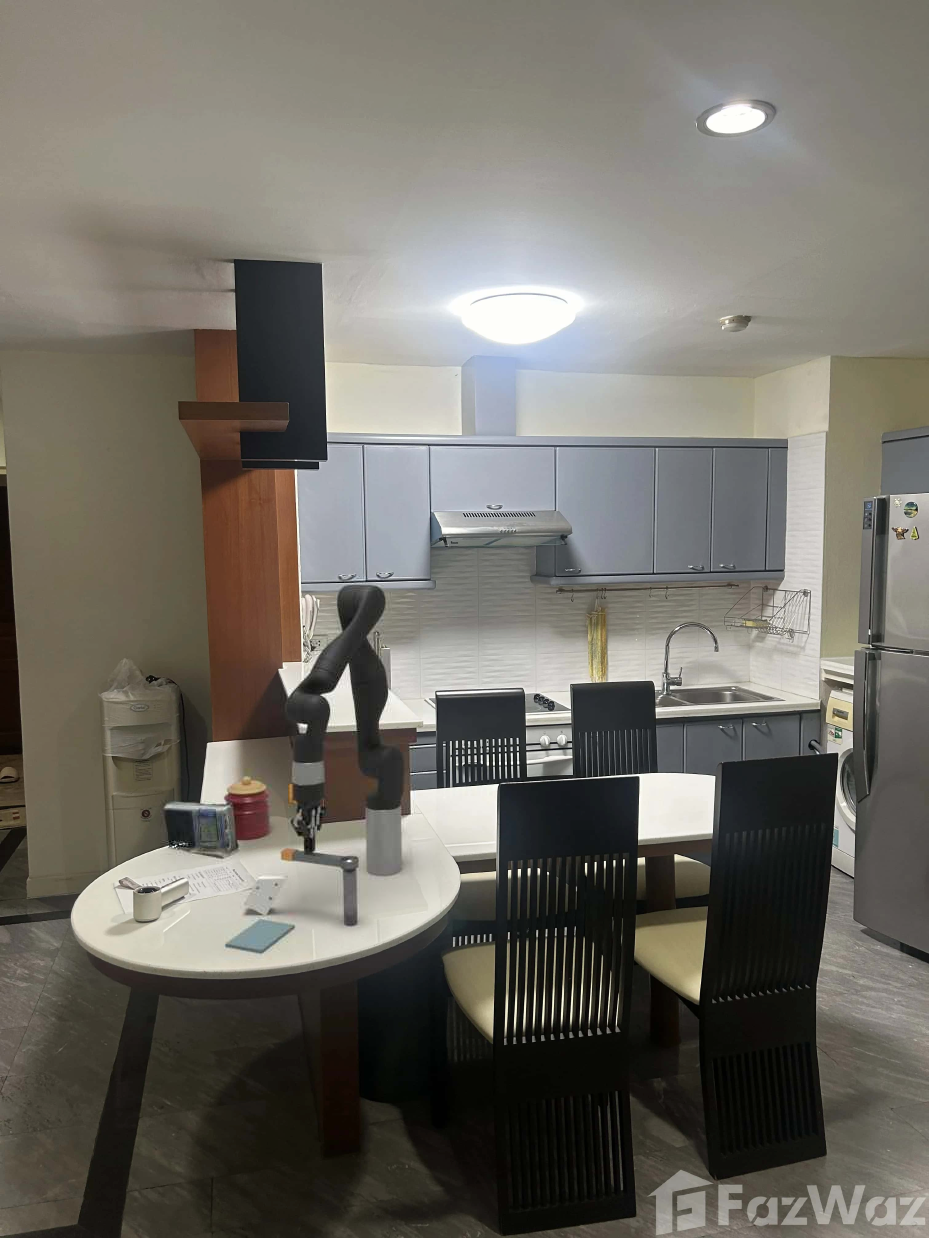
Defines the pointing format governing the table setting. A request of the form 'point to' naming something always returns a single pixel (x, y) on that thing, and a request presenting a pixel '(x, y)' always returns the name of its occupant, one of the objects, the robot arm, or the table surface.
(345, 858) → the grey and orange bar
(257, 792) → the canister
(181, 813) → the radio
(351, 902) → the post
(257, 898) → the white angled block
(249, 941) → the slate mat
